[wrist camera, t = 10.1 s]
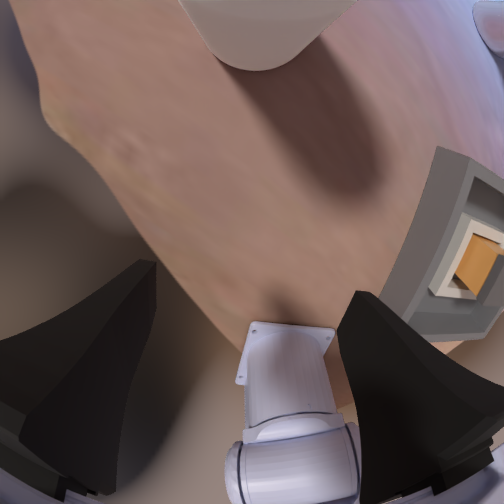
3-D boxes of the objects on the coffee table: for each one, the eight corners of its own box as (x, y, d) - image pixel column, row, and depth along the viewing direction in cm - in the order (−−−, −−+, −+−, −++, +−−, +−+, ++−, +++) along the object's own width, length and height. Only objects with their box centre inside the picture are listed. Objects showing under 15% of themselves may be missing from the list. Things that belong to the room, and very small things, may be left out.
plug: (470, 271, 22) (503, 306, 16) (446, 266, 21) (482, 305, 16) (487, 235, 20) (524, 266, 14) (464, 226, 19) (506, 260, 14)
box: (467, 317, 26) (483, 338, 22) (370, 312, 24) (385, 342, 21) (523, 200, 18) (547, 215, 15) (437, 145, 17) (470, 157, 13)
